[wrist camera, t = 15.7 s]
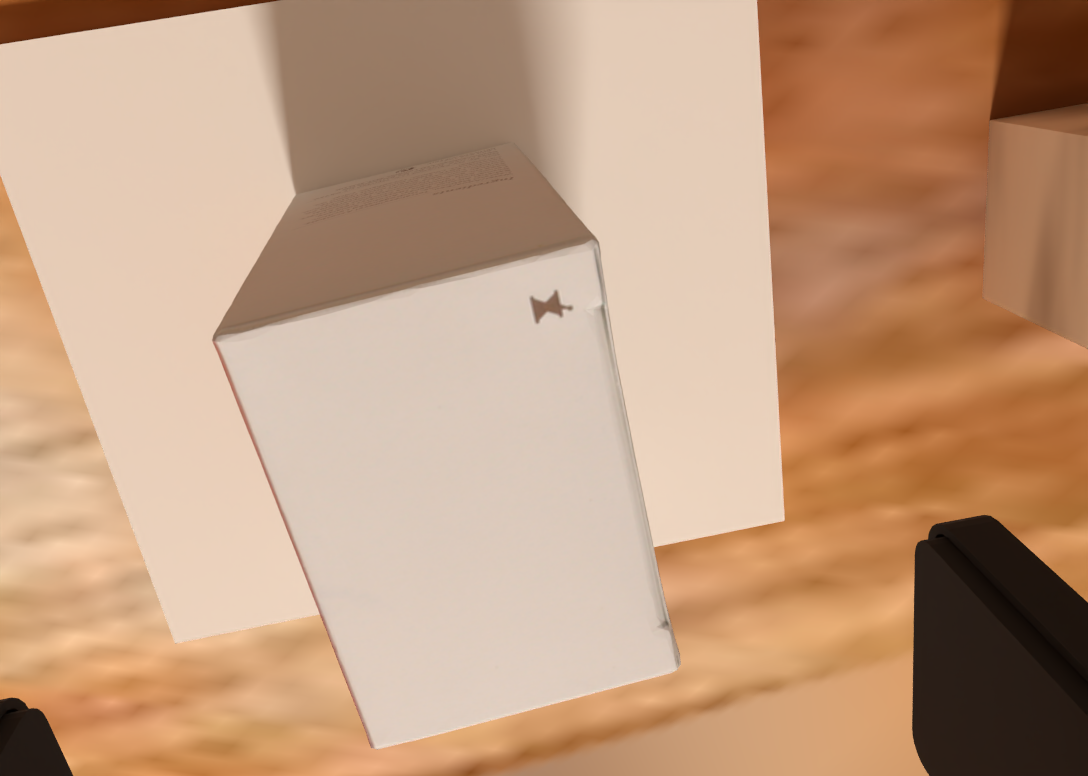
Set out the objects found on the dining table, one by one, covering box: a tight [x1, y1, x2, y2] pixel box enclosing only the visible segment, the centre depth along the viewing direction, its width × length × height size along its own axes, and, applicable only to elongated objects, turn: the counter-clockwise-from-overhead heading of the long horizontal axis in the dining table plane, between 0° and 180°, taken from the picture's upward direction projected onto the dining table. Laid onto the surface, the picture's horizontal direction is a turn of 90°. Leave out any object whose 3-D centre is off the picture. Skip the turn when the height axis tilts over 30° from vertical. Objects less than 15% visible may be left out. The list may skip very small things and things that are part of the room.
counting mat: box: [0, 0, 785, 643], centre depth 24 cm, size 18×16×1 cm
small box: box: [212, 142, 681, 749], centre depth 19 cm, size 8×6×10 cm
